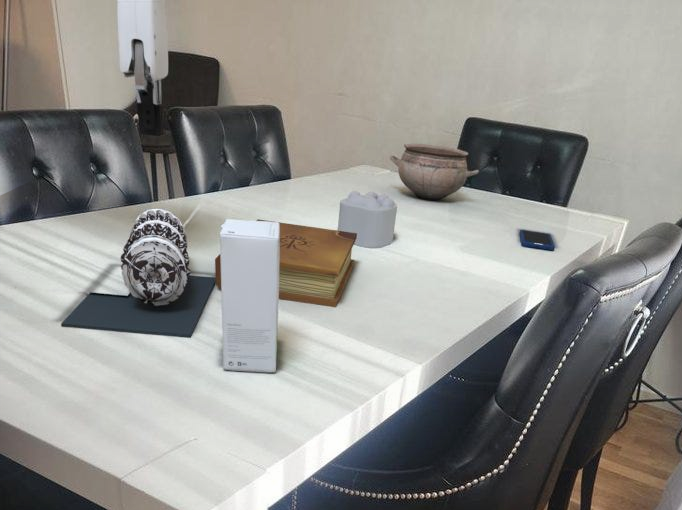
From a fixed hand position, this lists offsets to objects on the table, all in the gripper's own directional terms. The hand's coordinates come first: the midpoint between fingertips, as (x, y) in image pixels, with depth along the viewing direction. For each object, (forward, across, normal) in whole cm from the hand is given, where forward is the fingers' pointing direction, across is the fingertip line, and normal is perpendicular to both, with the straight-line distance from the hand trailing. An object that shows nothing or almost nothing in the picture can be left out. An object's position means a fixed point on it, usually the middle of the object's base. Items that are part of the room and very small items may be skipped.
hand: (151, 134), depth 96 cm
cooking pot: (+19, -83, +57) cm, 102 cm away
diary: (+19, 0, +22) cm, 29 cm away
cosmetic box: (+19, +35, +18) cm, 43 cm away
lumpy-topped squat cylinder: (+19, -30, +36) cm, 51 cm away
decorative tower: (+15, -1, 0) cm, 15 cm away
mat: (+19, +18, +2) cm, 26 cm away
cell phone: (+19, -43, +76) cm, 90 cm away
